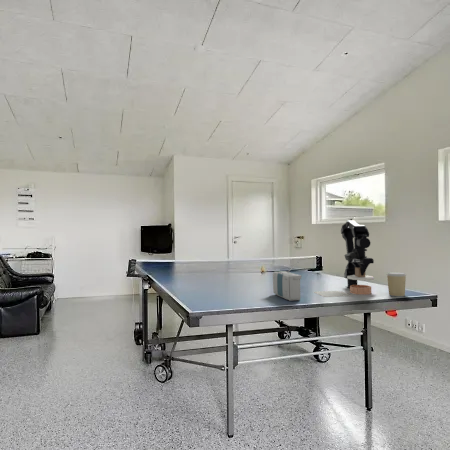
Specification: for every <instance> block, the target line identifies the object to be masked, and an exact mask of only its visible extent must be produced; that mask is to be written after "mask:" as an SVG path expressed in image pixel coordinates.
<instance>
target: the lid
mask: <svg viewBox="0 0 450 450" xmlns="http://www.w3.org/2000/svg"><path fill="white" fill-rule="evenodd" d="M347 278H348V279H352V280H357V281H372V280H374V279H375V278H374V276H372V275H366V272H365V273H364V275H361V271H360V267H355V275H349V276H347Z"/></svg>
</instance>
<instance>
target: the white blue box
mask: <svg viewBox="0 0 450 450" xmlns="http://www.w3.org/2000/svg"><path fill="white" fill-rule="evenodd" d="M297 264H299V261H297V263H295V264H294V265H293V266H291V268H290V269H288V270H287V271H285V270H282V271H273V273H272V290H273V294H275V296H278V297H280V298H283V299H285V300H286V301H289V302H291V301H292V302H293V301H300V300H301V280H302V275H301V274H297V273H292V272H290V271H291V270H292V269H293V268H295V266H296V265H297Z"/></svg>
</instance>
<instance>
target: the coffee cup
mask: <svg viewBox="0 0 450 450" xmlns="http://www.w3.org/2000/svg"><path fill="white" fill-rule="evenodd" d="M406 276H407V274H406V273H405V272H398V271H396V272H395V271H394V272H393V271H391V272H387V274H386V278H387V286H388V287H387V288H388V295H389V296H390V295H391V297H399V298H400V297H405V296H406V295H405V294H406V282H407V281H406V280H407V279H406V278H407V277H406Z"/></svg>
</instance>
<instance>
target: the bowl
mask: <svg viewBox="0 0 450 450" xmlns="http://www.w3.org/2000/svg"><path fill="white" fill-rule="evenodd" d="M349 293H351V294H354V295H372V285H368V284H367V285H366V284H357V285H350V288H349Z"/></svg>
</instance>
